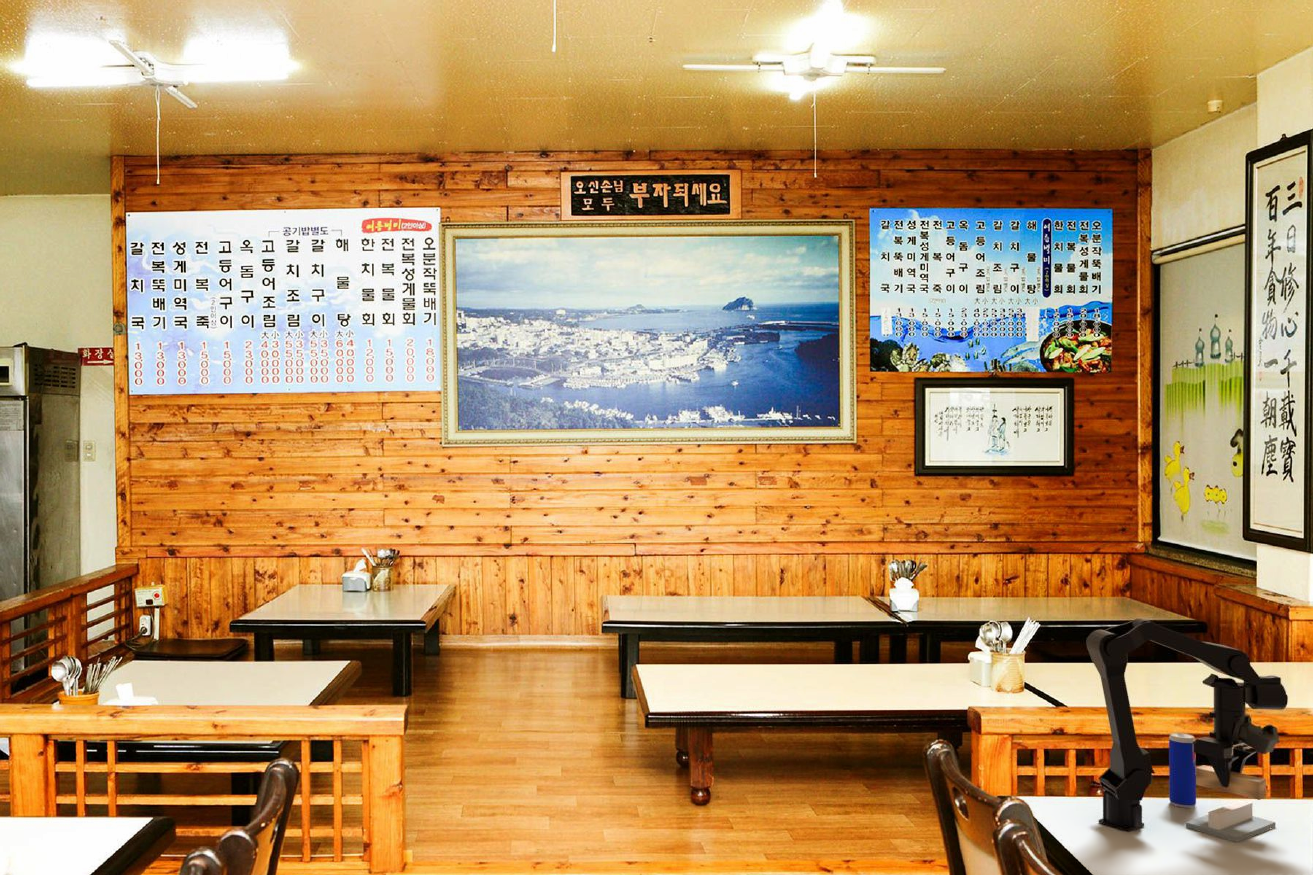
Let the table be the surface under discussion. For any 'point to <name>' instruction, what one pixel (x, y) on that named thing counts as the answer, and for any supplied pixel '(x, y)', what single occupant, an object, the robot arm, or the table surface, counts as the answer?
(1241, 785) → the oak bar
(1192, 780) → the beverage can
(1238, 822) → the stand
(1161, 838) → the table surface
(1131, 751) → the robot arm
